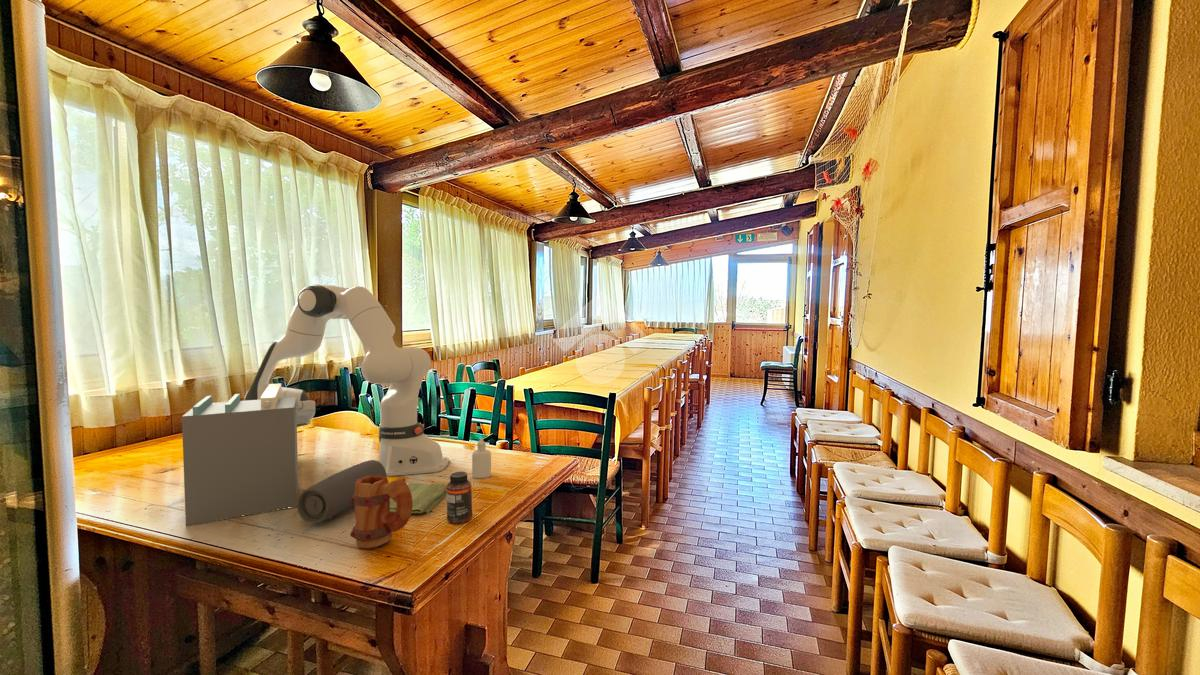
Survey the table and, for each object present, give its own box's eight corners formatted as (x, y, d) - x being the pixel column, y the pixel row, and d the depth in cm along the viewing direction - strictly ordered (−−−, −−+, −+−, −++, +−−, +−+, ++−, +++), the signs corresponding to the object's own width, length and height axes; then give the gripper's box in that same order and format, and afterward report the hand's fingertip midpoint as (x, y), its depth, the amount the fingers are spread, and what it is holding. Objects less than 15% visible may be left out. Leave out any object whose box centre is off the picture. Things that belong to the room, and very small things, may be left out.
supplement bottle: (464, 512, 121) (464, 468, 121) (476, 519, 117) (476, 473, 116) (442, 519, 117) (441, 473, 116) (454, 527, 113) (453, 479, 112)
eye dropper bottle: (477, 473, 151) (476, 435, 150) (493, 475, 149) (493, 437, 149) (469, 478, 146) (469, 439, 146) (486, 479, 145) (486, 440, 144)
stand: (201, 500, 128) (197, 396, 127) (298, 485, 139) (295, 390, 138) (185, 526, 113) (181, 407, 111) (296, 507, 124) (293, 399, 123)
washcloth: (375, 516, 119) (375, 504, 119) (409, 491, 137) (409, 479, 137) (426, 518, 118) (425, 505, 118) (453, 492, 136) (453, 481, 136)
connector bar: (269, 393, 143) (269, 383, 143) (281, 393, 145) (281, 383, 144) (259, 412, 117) (259, 399, 116) (274, 410, 118) (274, 398, 118)
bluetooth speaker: (330, 530, 111) (330, 487, 110) (295, 527, 112) (294, 485, 112) (389, 494, 133) (388, 458, 133) (358, 492, 135) (358, 457, 134)
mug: (341, 548, 102) (340, 478, 102) (372, 532, 110) (370, 467, 109) (395, 560, 97) (393, 487, 96) (423, 543, 105) (422, 475, 104)
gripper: (240, 412, 152) (234, 395, 142) (315, 405, 163) (314, 390, 152) (239, 431, 150) (233, 416, 139) (315, 423, 160) (315, 408, 150)
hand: (276, 402), depth 146 cm, fingers open, 8 cm apart
